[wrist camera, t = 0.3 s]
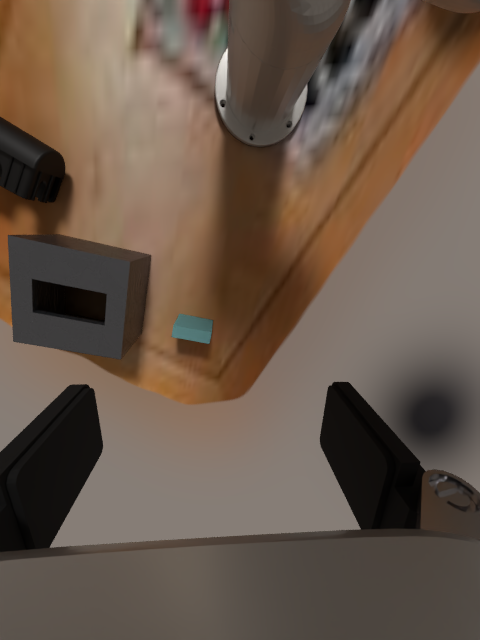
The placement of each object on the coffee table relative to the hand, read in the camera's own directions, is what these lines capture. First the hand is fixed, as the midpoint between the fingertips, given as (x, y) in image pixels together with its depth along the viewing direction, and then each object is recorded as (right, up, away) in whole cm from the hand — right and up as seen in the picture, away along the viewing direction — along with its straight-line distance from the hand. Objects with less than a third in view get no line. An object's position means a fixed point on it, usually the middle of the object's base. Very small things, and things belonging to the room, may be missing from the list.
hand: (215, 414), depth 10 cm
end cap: (-29, +26, +26) cm, 47 cm away
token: (-7, +3, +35) cm, 36 cm away
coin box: (-22, +9, +32) cm, 40 cm away
